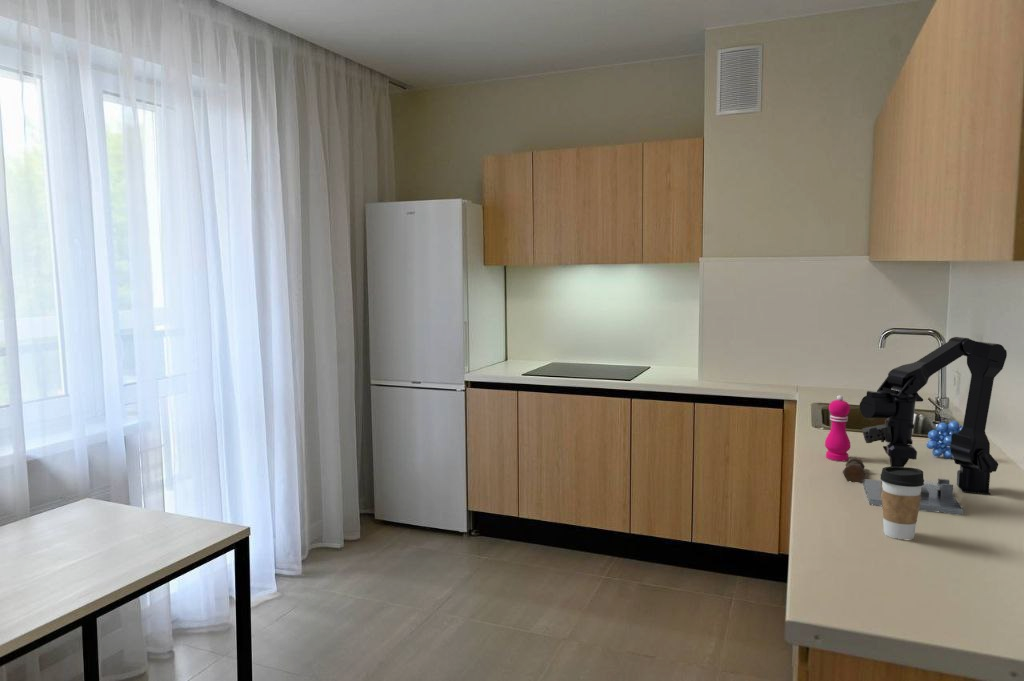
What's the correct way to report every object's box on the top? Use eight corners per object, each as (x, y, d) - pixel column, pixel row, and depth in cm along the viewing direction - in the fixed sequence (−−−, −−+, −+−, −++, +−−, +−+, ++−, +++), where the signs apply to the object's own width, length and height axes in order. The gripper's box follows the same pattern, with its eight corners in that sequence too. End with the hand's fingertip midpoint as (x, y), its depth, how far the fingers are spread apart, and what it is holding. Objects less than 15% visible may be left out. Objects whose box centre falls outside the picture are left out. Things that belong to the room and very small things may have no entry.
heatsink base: (946, 492, 184) (948, 474, 184) (962, 515, 168) (963, 494, 167) (862, 484, 192) (863, 466, 191) (869, 504, 175) (870, 485, 174)
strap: (948, 488, 178) (948, 485, 178) (950, 492, 175) (951, 488, 175) (887, 476, 183) (887, 473, 183) (888, 480, 180) (889, 476, 180)
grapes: (966, 456, 219) (969, 419, 218) (970, 462, 213) (973, 423, 212) (923, 453, 224) (926, 416, 223) (926, 458, 218) (929, 420, 217)
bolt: (857, 475, 206) (856, 487, 193) (841, 465, 208) (839, 476, 195) (869, 459, 205) (868, 471, 191) (853, 449, 207) (851, 460, 193)
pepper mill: (824, 460, 215) (827, 396, 213) (823, 454, 222) (826, 392, 220) (850, 462, 213) (853, 398, 211) (848, 456, 219) (852, 394, 217)
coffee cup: (919, 545, 149) (924, 477, 148) (875, 537, 154) (879, 471, 152) (921, 532, 156) (925, 467, 155) (878, 525, 161) (882, 462, 159)
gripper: (862, 407, 191) (857, 463, 193) (869, 421, 174) (863, 481, 176) (908, 412, 187) (902, 469, 189) (920, 426, 170) (913, 488, 171)
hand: (894, 476), depth 181 cm, fingers closed, pressing on strap
